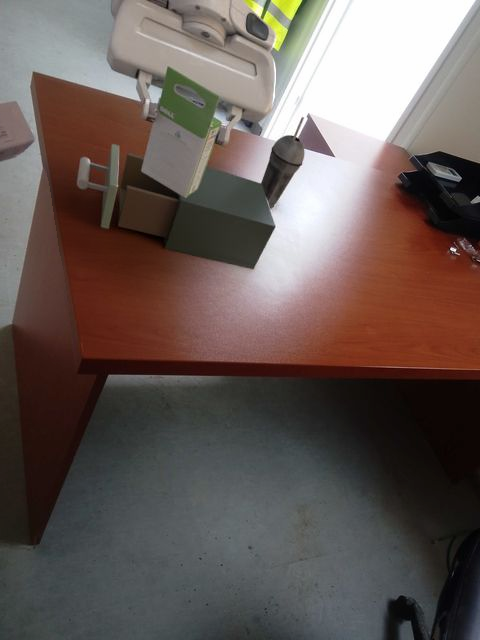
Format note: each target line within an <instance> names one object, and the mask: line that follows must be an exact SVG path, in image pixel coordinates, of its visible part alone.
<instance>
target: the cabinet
mask: <svg viewBox="0 0 480 640" xmlns="http://www.w3.org/2000/svg"><path fill="white" fill-rule="evenodd" d="M178 196H179V204H178V207H177V210H176V213H175V216H174V219H173V222H172V225H171V228H170V231H169V234H168V237H167V238H165V237H163V241H164V242H163V243H164V249H165V250H168V251H172V252H177V253H181V254H186V255H191V256H194V257H195V256H196V257H199V258H204V259H208V260H212V261H216V262H221V263H225V264H230V265H233V266H239V267H242V268H247V269H250V270H251V269H252V270H254V269H255V267H256V266H257V264H258V262H259V259H260V258H261V256H262V255H263V252H264V250H265V249H266V246H267V244H268V243H269V240H270V239H271V237H272V235H273V233H274V231H275V229H276V223H275V220H274V216H273V214H272V211H271V208H269V205H268V201H267V198H266V195H265V192H264V189H263V186H262V184H261V182H258V181H255V180H251V179H248V178H245V177H242V176H239V175H236V174H232V173H229V172H226V171H223V170H220V169H216V168H214V167H210V166H208V165H207V166H206V168H205V171H204V174H203V177H202V179H201V182H200V185H199V187H198V190H197V191H195V192H194V193H192V194H190V195H189V196H188V197H187V198H185V197H183V196H181V195H180V194H178Z"/></svg>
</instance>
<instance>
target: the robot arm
mask: <svg viewBox="0 0 480 640" xmlns="http://www.w3.org/2000/svg"><path fill="white" fill-rule="evenodd" d="M110 14H111V16H112V18H113V20H114V22H113V25H112V29H111V33H110V37H109V42H108V45H107V53H106V62H107V63H108V65H109V67H110V69H111V70H112V72H115V73H118V74H121V75H124V76H126V77H129V78H131V79H134V80H136V84H135V89H136V92H137V95H138V97H139V100H140V102H141V105H142V110H141V120H144V121H146V122H149V123H152V124H153V123H154V121H155V119H156V114H157V113H156V111H157V108H158V102H155V101H152V98H151V95H150V92H149V89H150V87H151V86H153V87H155V88H159V89H161V90H162V89H163V84H164V80H165V75H166V70H167V66H169V67H171V68H172V69H174V70H176V71H177V72H179V73H181V74H183V75H184V76H186V77H188V78H189V79H191V80H193V81H194V82H196V83H198V84H199V85H201V86H203V87H205V88H206V89H208V90H210V91H211V92H213V93H215V94H216V95H218V96H220V99H219V102H218V105H217V107H216V110H218V111H220V112H224V113H226V115H225V121H226V122H228V124H227V125H226V126H223V125H221V127H220V130H219V133H218V135H217V138H216V141H215V144H214V145H218V146H220V147H224V148H225V147H227V145H228V144H229V141H230V137H231V131H232V130H233V129H234V127H236V125H237V124H238V123H239V121H240V120H241V119H242V120H245V121H248V122H251V123H253V124H258V123H260V122H261V121H263V120H264V119H266V118H267V116H269V114H270V113H271V112H272V110H273V105H274V100H275V91H276V73H277V71H276V69H277V68H276V62H275V59H274V57H273V55H272V53H271V52H272V50H273V48H274V47H275V45H276V41H277V33H276V31H275V30H274V28H273V27H272V26H271V25H270V24H269V23H267V22H266V21H265V19H262V17H261V16H260V15H258V14H257V13H256V12H255V11H254V10H253V8H252V7H250V5H248V4H247V3H246V1H245V0H111V2H110ZM175 90H176V92H178V93H179V94H181V95H183V96H184V97H186V98H188V99H189V100H191V101H193V102H195V103H199V104H202V105H204V104H205V102H204V100H203V99H202V98H201V97H200V96H199V95H198V94H197V93H196V92H195V91H193V90H192V89H190V88H187V87H184V86H179V85H178V86H176V88H175Z"/></svg>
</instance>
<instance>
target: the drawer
mask: <svg viewBox="0 0 480 640" xmlns="http://www.w3.org/2000/svg"><path fill="white" fill-rule="evenodd" d="M144 157H145V156H141V155H138V154H134V153H131V152H127V153H126V158H125V162H124V166H123V170H122V176H121V181H120V185H119V169H120V168H119V167H120V166H119V165H120V145H117V144H115V143H111V147H110V151H109V157H108V161H107V166H105V165H102V164H98V163H94V162H91V160H90V159H89V158H88V156H87V157H86V156H81V158H80V159H79V165H78V172H77V180H76V186H77V187H78V188H79V189H81V190H86V189H88V188H90V189H94V190H97V191H100V192H102V204H101V220H100V228H103V229H107V230H109V229H110V226H111V225H110V224H111V219H112V217H113V215H112V214H113V212H114V211H113V210H114V206H115V203H116V202H115V201H116V196H117V193H118V215H117V216H118V219H117V226H118V228H119V227H120V228H124V229H128V230H131V231H135V232H140V233H145V234H149V235H153V236H157V237H160V238H161V237H162V238H164V237H165V238H167V237H168V234H169V231H170V228H171V225H172V222H173V219H174V216H175V213H176V210H177V207H178V204H179V196H178V193H176V192H175V191H173V190H171V189H170V188H168V187H166V186H165V185H163V184H161V183H160V182H158V181H156V180H155V179H153V178H151V177H150V176H148V175H146V174H145V173H143V172H141V169H142V165H143V161H144ZM91 168H92V169H95V170H97V171H102V172H105V177H104V182H103V185H101V184H98V183H95V182H90V180H89V179H90V172H91ZM118 187H119V189H118Z"/></svg>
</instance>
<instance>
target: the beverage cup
mask: <svg viewBox="0 0 480 640" xmlns="http://www.w3.org/2000/svg"><path fill="white" fill-rule="evenodd" d="M304 119H305V117H303V116H302V117H301V118H300V120H299V122H298V126H297V128H296V130H295V132H294V135H291V134H287V135H283V136H282V137H279V138H278V139H277V140H276V141H275V142H274V144H273V146H271V150H270V155H269V160H268V163H267V165H266V168H265V171H264V174H263V176H262V180H261V182H260V183H261V184H262V186H263V189H264V192H265V195H266V198H267V201H268V205H269V208H270V209H273V208H274V207H275V205H276V204H277V202H278V201H279V200H280V198H281V196H283V193H284V191H285V190H286V189H287V186H288V185H289V183H290V182H291V180H292V179H293V177H294V175H295V173H297V172H298V171H299V170H300V167H301V166H303V162H304V160H305V154H306V153H305V152H306V151H305V147H304V143H303V142H302V141H301V139H300V138H299V137H297V136H298V134H299V131H300V129H301V127H302V124H303V122H304Z"/></svg>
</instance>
